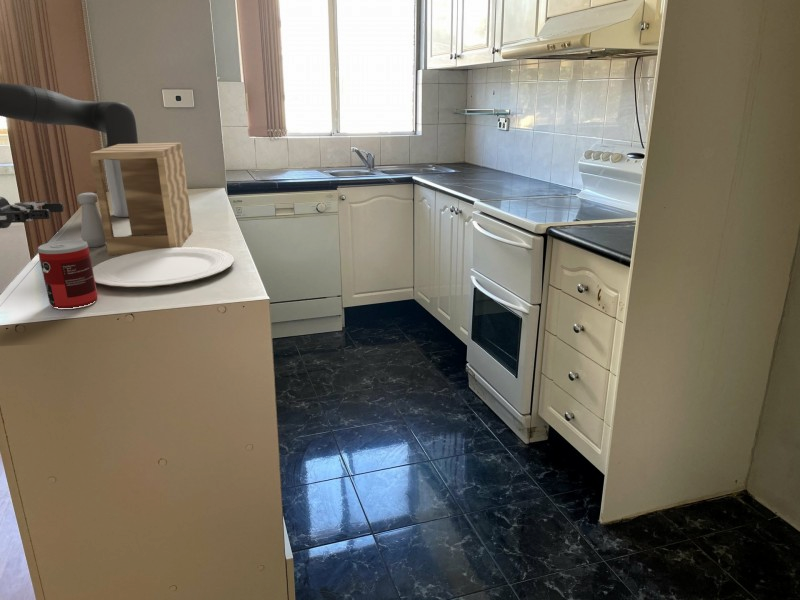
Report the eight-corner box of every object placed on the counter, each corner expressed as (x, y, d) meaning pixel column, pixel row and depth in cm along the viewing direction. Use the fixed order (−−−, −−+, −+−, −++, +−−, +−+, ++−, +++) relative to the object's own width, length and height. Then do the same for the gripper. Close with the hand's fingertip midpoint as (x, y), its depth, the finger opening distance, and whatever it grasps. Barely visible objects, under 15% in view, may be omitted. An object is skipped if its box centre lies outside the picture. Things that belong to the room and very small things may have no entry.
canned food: (61, 297, 113) (49, 240, 109) (105, 295, 113) (94, 238, 110) (42, 311, 105) (28, 251, 102) (88, 309, 106) (77, 249, 102)
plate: (240, 251, 144) (239, 243, 143) (228, 289, 117) (227, 280, 116) (111, 258, 139) (109, 250, 138) (68, 299, 112) (66, 290, 111)
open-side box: (133, 233, 161) (118, 144, 153) (192, 231, 163) (181, 142, 155) (108, 255, 140) (89, 152, 133) (177, 252, 143) (162, 151, 135)
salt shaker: (98, 248, 147) (88, 195, 142) (78, 247, 148) (67, 195, 143) (113, 242, 152) (104, 191, 148) (94, 241, 153) (84, 190, 149)
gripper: (-36, 202, 136) (41, 200, 138) (-6, 192, 149) (64, 190, 151) (-28, 235, 138) (48, 232, 140) (1, 222, 151) (70, 219, 154)
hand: (56, 210), depth 146 cm, fingers open, 8 cm apart
